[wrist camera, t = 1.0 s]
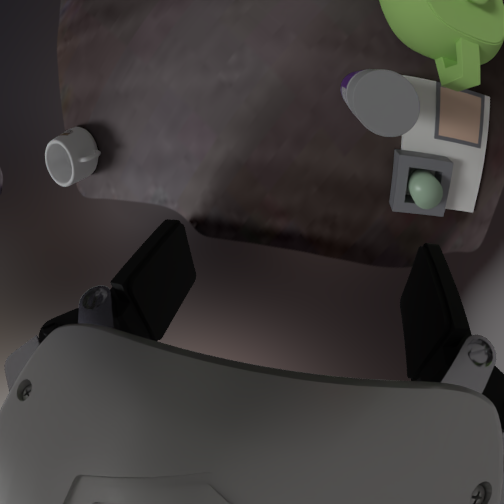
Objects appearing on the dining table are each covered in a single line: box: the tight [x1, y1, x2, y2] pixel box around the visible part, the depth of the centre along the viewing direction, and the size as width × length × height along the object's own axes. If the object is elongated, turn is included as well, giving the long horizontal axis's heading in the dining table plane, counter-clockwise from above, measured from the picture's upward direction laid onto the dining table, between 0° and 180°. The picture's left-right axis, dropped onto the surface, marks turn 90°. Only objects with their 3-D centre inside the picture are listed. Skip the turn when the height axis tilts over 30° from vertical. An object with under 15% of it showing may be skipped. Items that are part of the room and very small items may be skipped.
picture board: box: [389, 75, 490, 217], centre depth 24 cm, size 16×13×3 cm
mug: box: [45, 127, 101, 187], centre depth 36 cm, size 12×10×6 cm
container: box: [341, 69, 420, 137], centre depth 19 cm, size 5×5×15 cm
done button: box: [407, 168, 443, 209], centre depth 26 cm, size 4×4×3 cm
